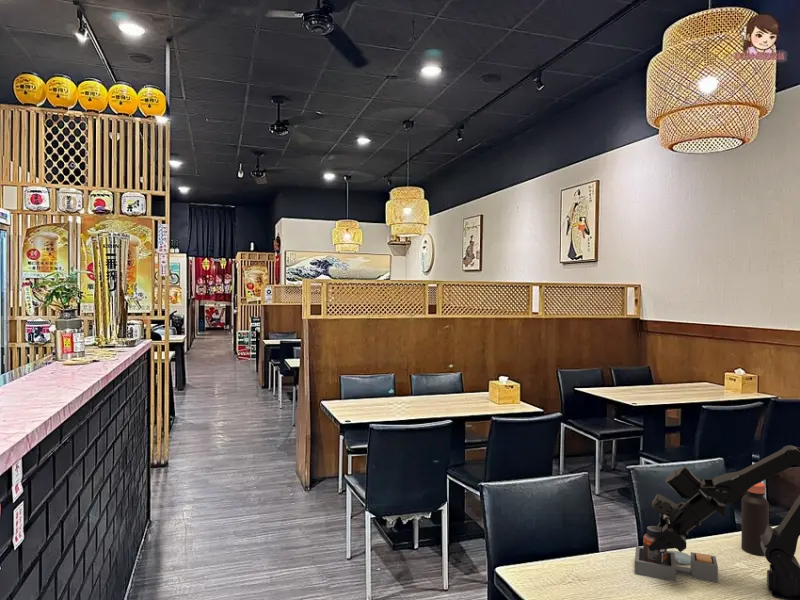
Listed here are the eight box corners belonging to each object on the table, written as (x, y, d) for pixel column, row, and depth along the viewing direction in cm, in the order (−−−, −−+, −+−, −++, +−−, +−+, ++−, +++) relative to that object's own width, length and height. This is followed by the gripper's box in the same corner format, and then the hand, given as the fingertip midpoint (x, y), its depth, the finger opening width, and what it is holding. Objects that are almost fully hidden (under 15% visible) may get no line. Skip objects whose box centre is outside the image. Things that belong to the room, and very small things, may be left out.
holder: (715, 572, 151) (715, 556, 151) (719, 590, 142) (719, 572, 142) (635, 558, 159) (635, 542, 159) (634, 573, 150) (634, 557, 150)
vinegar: (763, 558, 159) (764, 489, 159) (737, 550, 164) (738, 483, 164) (772, 551, 163) (772, 484, 163) (746, 543, 169) (746, 478, 169)
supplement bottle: (669, 575, 149) (669, 534, 149) (646, 573, 150) (646, 532, 150) (663, 565, 155) (663, 525, 155) (641, 563, 156) (641, 523, 156)
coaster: (692, 555, 161) (692, 553, 161) (694, 567, 154) (694, 565, 154) (662, 549, 164) (662, 548, 164) (662, 561, 157) (662, 560, 157)
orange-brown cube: (710, 570, 150) (710, 555, 150) (712, 576, 147) (712, 561, 147) (695, 567, 152) (695, 553, 152) (696, 573, 148) (696, 558, 148)
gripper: (670, 477, 159) (628, 509, 164) (672, 498, 142) (625, 533, 147) (701, 508, 156) (657, 540, 161) (706, 534, 139) (658, 569, 144)
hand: (649, 544), depth 153 cm, fingers closed on supplement bottle, 6 cm apart
